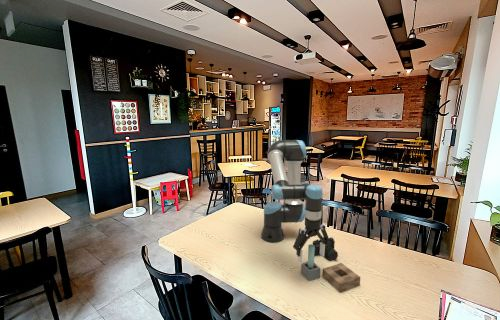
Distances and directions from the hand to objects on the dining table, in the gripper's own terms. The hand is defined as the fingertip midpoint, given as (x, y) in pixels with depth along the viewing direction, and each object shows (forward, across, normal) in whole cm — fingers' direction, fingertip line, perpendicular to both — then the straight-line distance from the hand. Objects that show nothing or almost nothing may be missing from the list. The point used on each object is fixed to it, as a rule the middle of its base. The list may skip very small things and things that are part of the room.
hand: (311, 258), depth 115 cm
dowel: (+9, 0, 0) cm, 9 cm away
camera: (+10, +19, +10) cm, 24 cm away
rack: (+10, +11, -9) cm, 17 cm away
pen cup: (+10, 0, 0) cm, 10 cm away
